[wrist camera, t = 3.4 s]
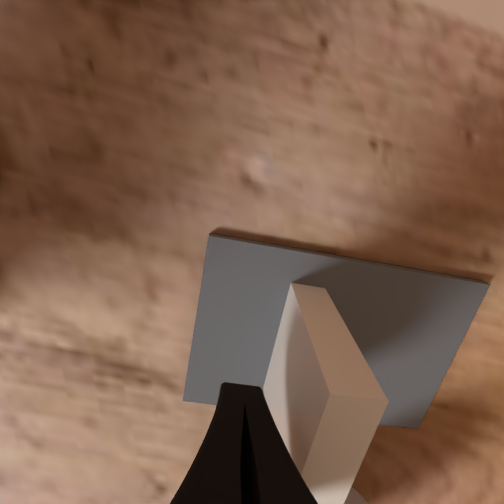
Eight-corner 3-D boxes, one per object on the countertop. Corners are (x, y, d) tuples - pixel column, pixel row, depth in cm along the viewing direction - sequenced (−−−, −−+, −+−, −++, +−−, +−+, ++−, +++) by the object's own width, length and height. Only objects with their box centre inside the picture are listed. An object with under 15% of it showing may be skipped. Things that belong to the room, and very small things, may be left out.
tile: (263, 387, 16) (278, 539, 10) (290, 282, 14) (330, 393, 8) (293, 391, 16) (326, 544, 10) (325, 288, 14) (389, 401, 8)
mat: (184, 394, 17) (182, 401, 16) (209, 233, 14) (208, 235, 13) (414, 423, 18) (418, 429, 18) (483, 281, 15) (490, 284, 15)
